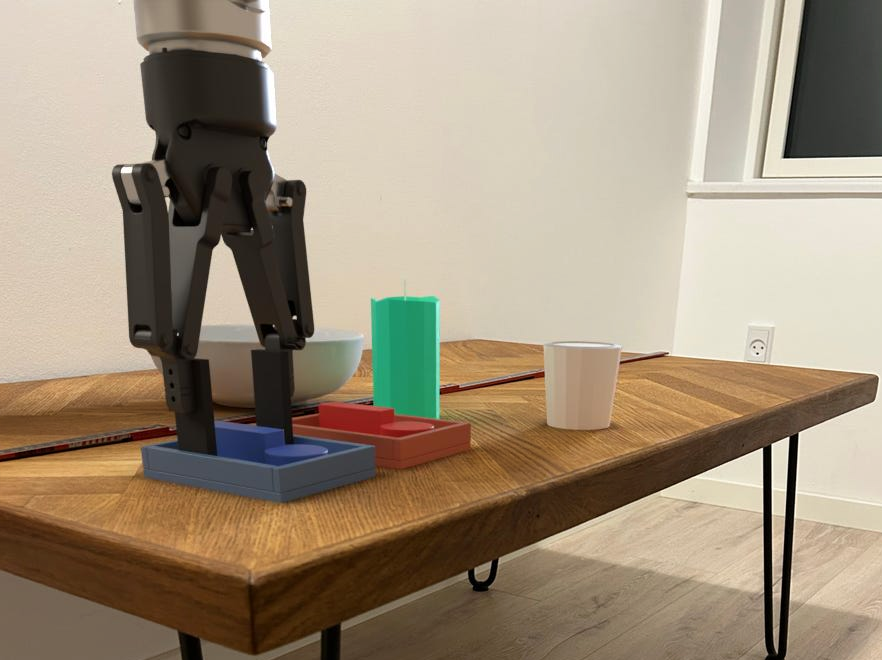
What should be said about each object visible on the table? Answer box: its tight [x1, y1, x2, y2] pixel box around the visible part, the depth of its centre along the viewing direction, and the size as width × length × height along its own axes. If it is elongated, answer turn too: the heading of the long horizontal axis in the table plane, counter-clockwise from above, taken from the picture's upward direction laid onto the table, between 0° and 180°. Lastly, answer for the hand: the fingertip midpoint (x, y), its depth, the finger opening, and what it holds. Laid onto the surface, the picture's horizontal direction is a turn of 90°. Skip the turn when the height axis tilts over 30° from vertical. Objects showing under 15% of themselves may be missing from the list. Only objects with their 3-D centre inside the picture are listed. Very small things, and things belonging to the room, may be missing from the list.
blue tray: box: [140, 435, 377, 504], centre depth 63 cm, size 12×9×2 cm
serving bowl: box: [150, 324, 365, 409], centre depth 94 cm, size 21×21×7 cm
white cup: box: [542, 340, 623, 431], centre depth 84 cm, size 7×7×7 cm
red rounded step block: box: [318, 400, 434, 438], centre depth 72 cm, size 10×4×3 cm, turn 58°
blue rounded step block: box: [214, 420, 328, 466], centre depth 62 cm, size 10×4×3 cm, turn 58°
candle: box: [370, 279, 441, 419], centre depth 84 cm, size 6×6×12 cm
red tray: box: [292, 413, 472, 470], centre depth 72 cm, size 12×9×2 cm
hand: (239, 454), depth 63 cm, fingers open, 6 cm apart
